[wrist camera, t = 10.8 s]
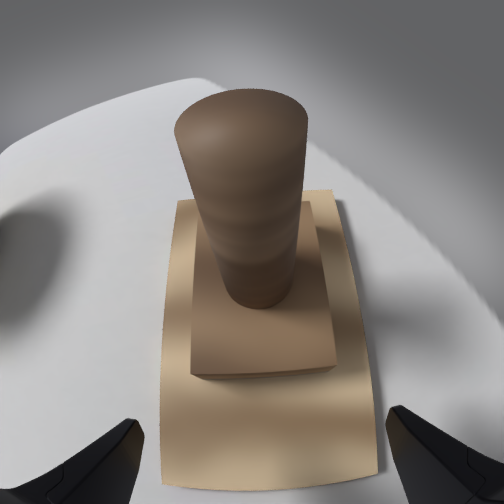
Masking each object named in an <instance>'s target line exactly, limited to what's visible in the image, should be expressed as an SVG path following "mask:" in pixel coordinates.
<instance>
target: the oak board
mask: <svg viewBox="0 0 504 504" xmlns="http://www.w3.org/2000/svg"><path fill="white" fill-rule="evenodd" d="M302 201H310V204H311V208H312V213H313V218H314V223H315V228H316V233H317V238H318V243H319V248H320V253H321V259H322V264H323V270H324V276H325V282H326V288H327V294H328V300H329V306H330V313H331V320H332V327H333V334H334V342H335V350H336V358H337V366H335V367H334V368H333V369H331V370H330V371H328V372H323V373H315V374H306V375H296V376H284V377H271V378H254V379H219V380H202V379H200V378H198V377H196V376H194V375H192V374H190V358H191V320H192V296H193V277H194V261H195V247H196V234H197V222H198V211H199V210H198V207H197V204H196V201H195V199H190V200H180V201H178V203H177V210H176V216H175V223H174V230H173V237H172V244H171V252H170V260H169V269H168V278H167V287H166V298H165V309H164V322H163V336H162V353H161V377H160V453H161V475H162V484H164V485H171V486H179V487H187V488H197V489H210V490H233V491H257V490H280V489H293V488H303V487H311V486H319V485H326V484H332V483H338V482H343V481H348V480H353V479H358V478H362V477H367V476H371V475H375V474H378V465H377V441H376V426H375V413H374V402H373V392H372V383H371V375H370V367H369V360H368V353H367V346H366V340H365V333H364V327H363V321H362V316H361V310H360V305H359V300H358V295H357V290H356V285H355V280H354V275H353V271H352V266H351V262H350V257H349V253H348V249H347V245H346V241H345V236H344V233H343V229H342V225H341V221H340V217H339V213H338V210H337V206H336V202H335V199H334V195H333V192H332V190H311V191H302Z"/></svg>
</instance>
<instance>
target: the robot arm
mask: <svg viewBox="0 0 504 504" xmlns="http://www.w3.org/2000/svg"><path fill="white" fill-rule="evenodd" d="M385 426H386V431H387V435H388V439H389V443H390V447H391V452H392V456H393V460H394V463H395V466H396V468H397V471H398V474H399V476H400V479H401V482H402V485H403V488H404V490H405V493H406V496H407V499H408V502H409V504H504V464H503V463H501V462H498V461H496V460H494V459H491V458H489V457H487V456H485V455H483V454H481V453H479V452H477V451H475V450H474V449H472V448H470V447H467V445H465V444H463V443H462V442H460V441H458V440H457V439H455V438H453V437H452V436H450V435H448V434H447V433H445V432H443V431H442V430H440V429H438V428H437V427H435V426H434V425H432V424H430V423H429V422H427V421H426V420H424V419H422V418H421V417H419V416H418V415H416V414H415V413H413V412H411V411H410V410H408V409H407V408H405V407H404V406H402V405H398V406H394V407H391V408H390V410H389V413H388V416H387V419H386V423H385ZM144 438H145V437H144V432H143V430H142V428H141V426H140V424H139V422H138V421H137V420H136V419H130V418H127V419H125V420H124V421H122V422H121V423H119V424H118V425H117V426H115V427H114V428H113V429H111V430H110V431H108V432H107V433H106V434H104V435H103V436H101V437H100V438H99V439H97V440H96V441H94V442H93V443H91V444H90V445H89V446H87V447H86V448H84V449H83V450H81V451H80V452H78V453H77V454H75V455H74V456H72V457H71V458H69V459H68V460H66V461H65V462H64V463H62V464H60V465H59V466H57V467H56V468H54V469H52V470H51V471H49V472H47V473H45V474H44V475H42V476H40V477H38V478H36V479H33V480H31V481H29V482H27V483H25V484H23V485H20V486H18V487H15V488H11V489H0V504H129V502H130V498H131V495H132V492H133V488H134V485H135V482H136V478H137V475H138V471H139V467H140V461H141V455H142V450H143V444H144Z"/></svg>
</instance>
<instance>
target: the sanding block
mask: <svg viewBox="0 0 504 504" xmlns="http://www.w3.org/2000/svg"><path fill="white" fill-rule="evenodd" d="M307 128H308V116H307V113H306V111H305V109H304V108H303V107H302V105H301V104H299V103H298V102H297V101H296V100H294V99H293V98H291V97H289V96H286V95H284V94H282V93H278V92H275V91H270V90H263V89H236V90H230V91H224V92H220V93H217V94H214V95H211V96H208V97H206V98H204V99H202V100H200V101H198V102H196V103H194V104H193V105H191V106H190V107H189V108H187V109H186V110H185V111H184V112H183V113H182V114H181V115H180V117H179V118H178V120H177V122H176V124H175V128H174V134H175V138H176V141H177V144H178V147H179V151H180V154H181V157H182V160H183V164H184V167H185V170H186V173H187V176H188V179H189V182H190V185H191V189H192V192H193V195H194V198H195V201H196V204H197V207H198V210H199V211H198V222H197V234H196V247H195V261H194V277H193V296H192V320H191V358H190V374H192V375H194V376H196V377H198V378H200V379H202V380H219V379H254V378H271V377H284V376H296V375H306V374H315V373H323V372H328V371H330V370H331V369H333V368H334V367H335V366H337V358H336V350H335V342H334V334H333V327H332V320H331V313H330V306H329V300H328V294H327V288H326V282H325V276H324V270H323V264H322V259H321V253H320V248H319V243H318V238H317V233H316V228H315V223H314V218H313V213H312V208H311V204H310V201H302V191H303V180H304V168H305V156H306V143H307Z"/></svg>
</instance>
